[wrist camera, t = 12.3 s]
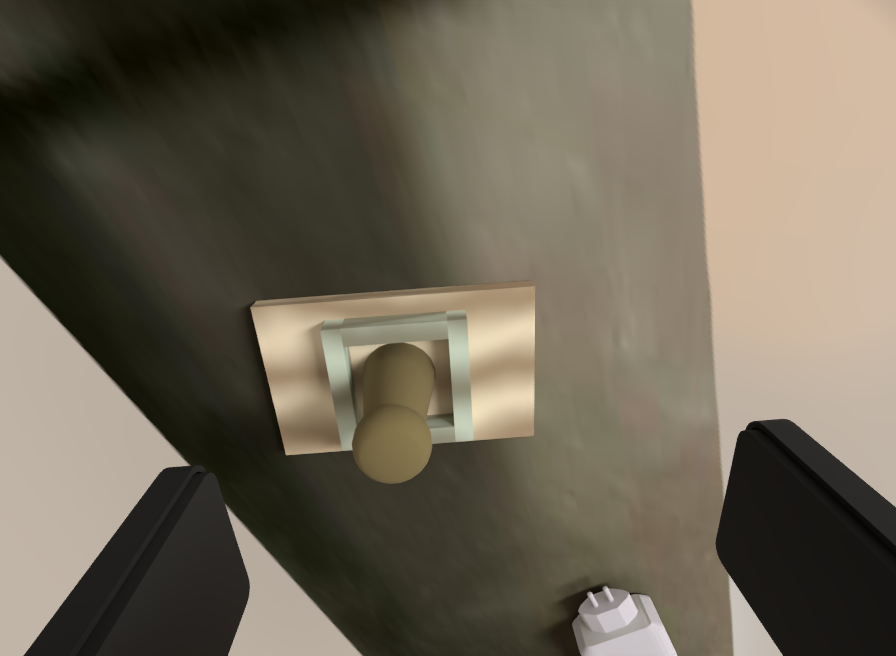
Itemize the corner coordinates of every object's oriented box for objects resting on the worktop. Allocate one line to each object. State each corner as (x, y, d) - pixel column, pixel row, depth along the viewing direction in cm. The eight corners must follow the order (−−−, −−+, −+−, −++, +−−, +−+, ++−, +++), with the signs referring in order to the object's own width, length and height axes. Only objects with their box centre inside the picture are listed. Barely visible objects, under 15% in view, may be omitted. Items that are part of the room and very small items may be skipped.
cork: (410, 329, 39) (405, 403, 29) (449, 385, 41) (457, 472, 31) (347, 364, 40) (321, 448, 30) (388, 417, 42) (376, 512, 32)
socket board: (256, 300, 39) (241, 317, 36) (531, 280, 39) (540, 294, 36) (290, 444, 44) (280, 470, 41) (530, 425, 45) (538, 449, 42)
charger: (629, 555, 52) (668, 636, 58) (550, 584, 54) (595, 661, 59) (648, 594, 48) (688, 678, 53) (561, 626, 49) (608, 704, 55)
